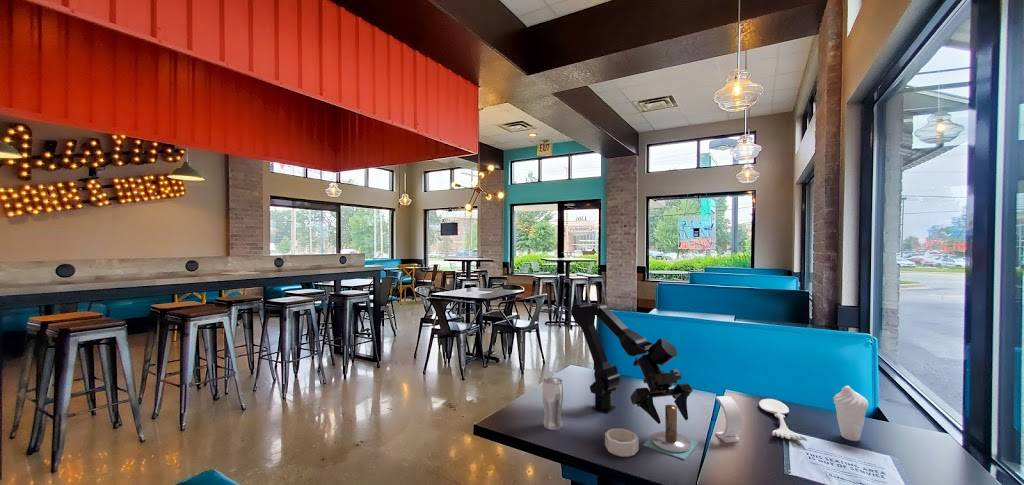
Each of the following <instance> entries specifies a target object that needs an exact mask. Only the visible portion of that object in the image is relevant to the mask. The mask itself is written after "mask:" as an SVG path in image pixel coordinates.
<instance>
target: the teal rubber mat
mask: <svg viewBox="0 0 1024 485" xmlns="http://www.w3.org/2000/svg"><path fill="white" fill-rule="evenodd" d="M662 431H663V430H660V429H659V430H658V431H657V432H662ZM689 440H690V441H691V449H690V450H689V451H688V452H685V453H671V452H667V451H663V450H661V449H659V448H657V447H656V446H654V445H653V443H652V436H651V437H650V438H649V439H648V440H647V441H645V443H643V447H646V448H648V449H651V450H655V451H656V452H660V453H663V454H666V455H668V456H672V457H675V458H678V459H680V460H683V461H686V460H687V458H688V457H689V456H690V455H691V454H692V452H693V451H694V450H695V448H696V447H697V446H698V445H699V442H698V441H695V440H693V439H689Z"/></svg>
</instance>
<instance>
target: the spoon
mask: <svg viewBox="0 0 1024 485" xmlns="http://www.w3.org/2000/svg"><path fill="white" fill-rule="evenodd" d="M758 405H759V407H760V408H761V409H762V410H764V411H765V412H768V413H771V414H773V415H774V416H775V418H778V419H779V428H776V429H774V430H772V432H771V435H772V436H773V437H774V436H776V437H778V438H781V439H784V438H785V439H787V440H793V441H796V440H798V441H805V442H807V441H808V440H807V437H806V436H803V435H801V434H798V433H796V432H794V431H793V430H790V429H789V428H788V425H787V424H786V421H785V418H786V416H785V415H786V414H788V413H789V412H790V408H789V407H788V406H787V405H786V404H785V403H783V402H782V401H780V400H778V399H774V398H763V399H761V400H759V401H758Z"/></svg>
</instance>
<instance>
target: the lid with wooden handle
mask: <svg viewBox="0 0 1024 485" xmlns="http://www.w3.org/2000/svg"><path fill="white" fill-rule="evenodd" d="M664 411H665V413H664V414H665V416H664V417H665V418H664V420H665V422H664V423H665V424H664V425H665V426H664V427H665V428H664V429H665V430H664V431H663V430H661V431H662V432H658V431H656V432H654V433H653V434H652V435H651V437H652V443H653V445H654V446H656V447H657V448H659V449H661V450H663V451H667V452H671V453H685V452H688V451H689V450H690V449H691V441H690V440H691V439H689V438H687V436H685V435H683V434H681V433H678V412H677V411H678V407H677V406H676V405H674V404H666V405H665V408H664Z"/></svg>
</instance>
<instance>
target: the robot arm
mask: <svg viewBox="0 0 1024 485" xmlns="http://www.w3.org/2000/svg"><path fill="white" fill-rule="evenodd" d="M570 312H571V316H572V319H573V320H574V322H575V323H576V324H577V325H578V326H579V327H580V328H581V330H582V334H583V336H584V338H585V341H586V344H587V347H588V350H589V352H590V356H591V358H592V361H593V364H594V374H593V375H594V382H593V383H591V385H589V390H590V393H592V394H594V396H595V397H594V405H592V406H591V409H592V410H595V411H598V412H602V413H605V414H609V413H610V412H611V411H613V410H614V409H616V406H615V405H613V404H612V400H613V398H612V396H613V395H612V392H614V391H617V388H618V386H619V384H620V383H621V378H620V377H621V375H620V374H619V370H618V368H617V366H616V365H615V364H613V365H612V364H611V363H610V362H609V360H608V358H607V355H606V352H605V350H604V347H603V344H602V342H601V339H600V336H599V334H598V331H597V328H596V325H595V322H596V317H597V318H598V320H600V321H601V322H602V323H603V324H604V325H605V326H606V327H607V328H608V330H610V331H611V333H613V334H614V335H615V336H616V337H617V339H618V340H619V343H620V347H622V350H624V352H625V353H626V354H627V355H628V356H629V357H635V358H634V361H633V365H632V366H634V367H639V369H640V371H641V373H642V375H643V377H644V378H643V380H642V381H643V383H644V384H646V385H647V387H639V388H637V387H636V389H634V391H633V392H632V394H631V395H630V401H631V404H632V405H633V406H634V405H636V406H637V407H638V408H639V407H640V408H641V409H642V410H643V411H645V413H647V414H648V415H649V417H651V418H652V419H653V420H654V421H655V422H656V423H657V424H658V425H660V424H661V422H662V421H661V419H660V416H659V414H658V411H657V409H656V407H655V404H654V398H662V397H670V396H672V398H673V399H674V400H673V401H674V404H675V406H676V407H677V410H678V411H679V412H680V415H681V416H682V418H683V419H684V420H685V421H688V420H689V416H688V415H689V414H688V413H689V412H688V404H687V403H688V402H687V401H688V397H689V396H690V395H691V393H692V392H694V390H693V388H692V386H691V385H690V384H689V383H687V382H686V383H678V382H679V381H680V380H682V375H681V373H680V371H679V369H678V368H675V369H673V368H672V369H670V370H669V372H665V371H664V370H661V367H660V366H664V365H666V364H668V362H670V361H672V360H673V359H674V358H676V357H677V355H678V351H677V348H676V347H675V346H674V344H672V343H671V342H669V341H667V340H666V339H665V338H664V337H662V338H661V337H660V338H658V339H657V341H655V343H653V342H650V341H649V340H647V339H646V338H645V337H644V336H642V335H641V334H639V333H638V332H636V331H634V330H632V329H630V328H628V326H626V324H625V323H624V322H623V321H621V319H620V318H618V316H616V315H615V314H614V313H613V311H611V310H610V309H609V307H608V306H607V305H606V304H605V303H597V304H592V303H589V302H581V303H576V304H573V305H572V307H571V310H570ZM639 355H640V357H636V356H639ZM673 384H676V385H675V386H674V387H673V388H671V387H672V386H673Z"/></svg>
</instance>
